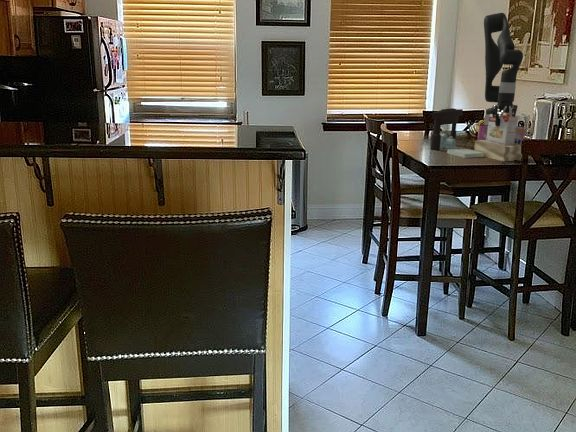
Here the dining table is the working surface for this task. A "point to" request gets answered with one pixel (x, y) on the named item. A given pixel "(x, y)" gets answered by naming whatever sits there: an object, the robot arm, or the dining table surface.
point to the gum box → (518, 137)
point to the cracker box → (502, 130)
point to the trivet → (465, 153)
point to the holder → (499, 150)
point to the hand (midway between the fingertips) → (502, 125)
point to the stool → (442, 119)
